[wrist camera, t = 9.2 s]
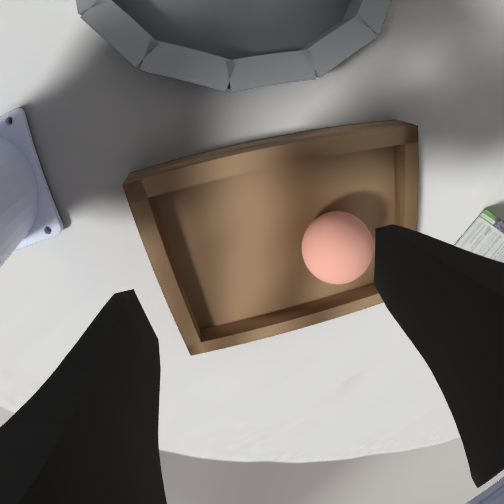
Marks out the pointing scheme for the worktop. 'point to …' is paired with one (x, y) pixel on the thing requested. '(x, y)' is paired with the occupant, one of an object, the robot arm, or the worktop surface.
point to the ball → (337, 247)
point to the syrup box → (485, 237)
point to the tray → (268, 226)
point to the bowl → (236, 37)
